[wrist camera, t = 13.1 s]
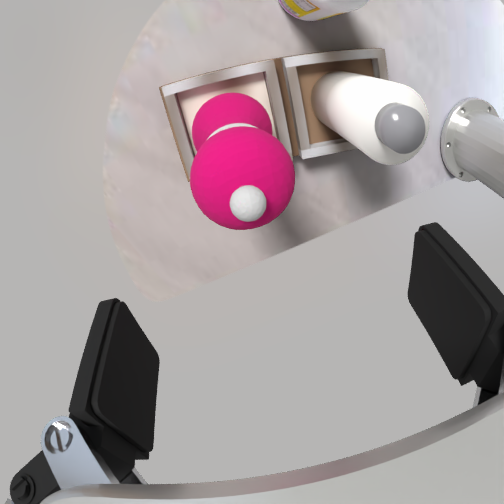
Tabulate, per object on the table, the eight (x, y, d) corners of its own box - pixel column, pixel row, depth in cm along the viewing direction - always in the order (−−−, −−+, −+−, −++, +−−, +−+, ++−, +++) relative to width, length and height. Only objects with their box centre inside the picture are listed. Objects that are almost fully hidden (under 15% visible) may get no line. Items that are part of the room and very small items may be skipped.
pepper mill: (270, 145, 33) (330, 255, 17) (204, 161, 33) (198, 286, 17) (257, 81, 29) (315, 120, 13) (186, 98, 29) (149, 161, 13)
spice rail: (375, 48, 29) (388, 48, 26) (385, 135, 35) (396, 142, 33) (161, 86, 30) (156, 89, 27) (189, 177, 36) (187, 187, 33)
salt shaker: (363, 68, 29) (439, 84, 18) (369, 124, 33) (439, 166, 22) (305, 74, 29) (360, 89, 18) (315, 132, 33) (368, 179, 22)
